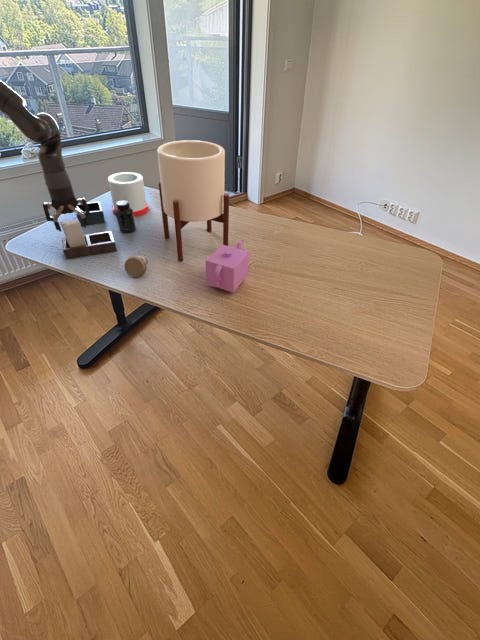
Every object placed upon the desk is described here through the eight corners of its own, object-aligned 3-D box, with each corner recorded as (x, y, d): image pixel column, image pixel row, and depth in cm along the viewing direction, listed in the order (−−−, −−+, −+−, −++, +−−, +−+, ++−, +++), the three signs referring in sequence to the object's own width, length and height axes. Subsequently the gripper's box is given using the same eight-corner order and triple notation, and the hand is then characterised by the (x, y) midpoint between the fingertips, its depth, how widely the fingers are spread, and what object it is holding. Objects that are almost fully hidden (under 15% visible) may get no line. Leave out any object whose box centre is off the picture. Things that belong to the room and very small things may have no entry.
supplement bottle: (120, 226, 148) (115, 199, 140) (137, 226, 148) (132, 199, 140) (118, 234, 142) (112, 206, 134) (135, 234, 143) (130, 206, 135)
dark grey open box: (79, 226, 146) (76, 214, 142) (77, 216, 153) (74, 204, 149) (105, 223, 149) (102, 210, 146) (102, 213, 156) (99, 201, 153)
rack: (66, 259, 126) (63, 250, 124) (64, 247, 133) (61, 238, 130) (116, 251, 132) (114, 242, 130) (113, 239, 139) (111, 230, 136)
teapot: (229, 300, 112) (230, 267, 104) (202, 291, 115) (201, 259, 107) (253, 270, 126) (256, 239, 118) (229, 263, 129) (229, 232, 121)
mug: (154, 263, 127) (151, 250, 118) (143, 286, 124) (140, 273, 114) (134, 256, 127) (131, 242, 118) (123, 278, 124) (118, 265, 114)
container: (155, 207, 164) (151, 175, 154) (134, 220, 153) (128, 187, 143) (127, 200, 168) (122, 169, 159) (105, 212, 157) (98, 179, 148)
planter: (176, 263, 127) (167, 162, 104) (161, 236, 143) (150, 142, 119) (232, 253, 135) (235, 156, 111) (212, 228, 150) (211, 138, 126)
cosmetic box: (85, 246, 134) (77, 217, 126) (89, 251, 131) (80, 222, 123) (69, 250, 131) (59, 220, 123) (72, 255, 129) (62, 225, 121)
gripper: (80, 177, 119) (92, 221, 130) (35, 182, 115) (51, 227, 126) (82, 185, 114) (94, 229, 125) (35, 190, 110) (51, 236, 120)
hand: (72, 228), depth 125 cm, fingers open, 8 cm apart
